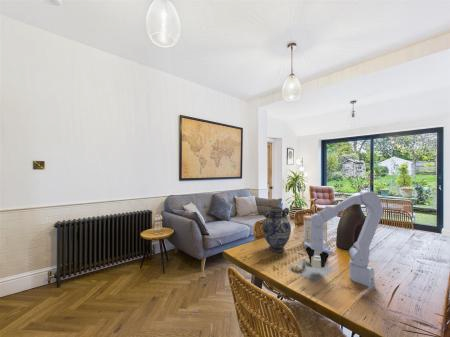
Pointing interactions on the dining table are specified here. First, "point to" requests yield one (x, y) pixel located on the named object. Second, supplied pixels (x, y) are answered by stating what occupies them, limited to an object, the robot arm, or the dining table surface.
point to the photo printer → (316, 253)
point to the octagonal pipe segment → (316, 261)
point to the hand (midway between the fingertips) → (317, 264)
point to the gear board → (309, 270)
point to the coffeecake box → (308, 229)
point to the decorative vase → (276, 228)
